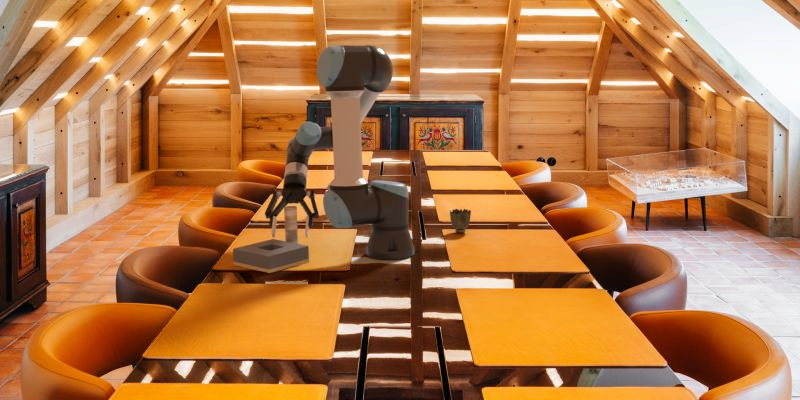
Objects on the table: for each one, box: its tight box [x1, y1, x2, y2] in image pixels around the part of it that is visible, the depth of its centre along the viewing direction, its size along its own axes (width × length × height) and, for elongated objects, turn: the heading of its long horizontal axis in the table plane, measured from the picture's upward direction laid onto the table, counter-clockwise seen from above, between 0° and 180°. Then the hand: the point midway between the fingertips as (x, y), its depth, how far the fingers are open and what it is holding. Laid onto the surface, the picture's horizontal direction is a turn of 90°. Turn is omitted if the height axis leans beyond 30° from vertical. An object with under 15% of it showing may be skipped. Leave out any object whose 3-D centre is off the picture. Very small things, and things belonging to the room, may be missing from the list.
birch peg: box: [283, 205, 299, 244], centre depth 266 cm, size 4×4×14 cm
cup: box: [449, 208, 472, 235], centre depth 287 cm, size 8×7×8 cm
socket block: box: [232, 238, 310, 274], centre depth 250 cm, size 16×16×5 cm
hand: (289, 235), depth 263 cm, fingers open, 10 cm apart
